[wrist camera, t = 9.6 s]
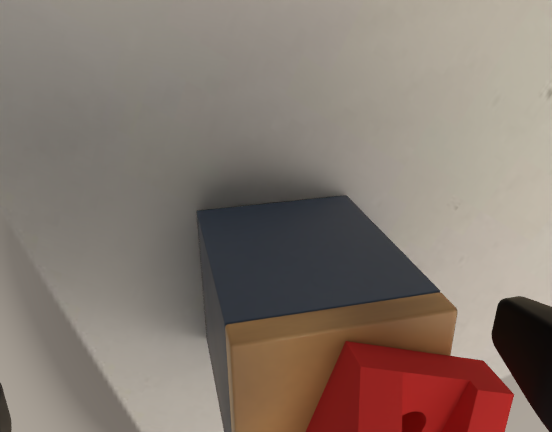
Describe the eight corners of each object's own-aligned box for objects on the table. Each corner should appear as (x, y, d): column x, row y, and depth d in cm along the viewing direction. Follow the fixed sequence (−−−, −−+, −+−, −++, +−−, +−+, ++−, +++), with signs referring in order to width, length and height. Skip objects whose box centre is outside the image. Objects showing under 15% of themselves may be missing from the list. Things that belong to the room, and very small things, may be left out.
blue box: (206, 339, 24) (234, 488, 17) (196, 210, 21) (224, 323, 14) (340, 318, 25) (418, 448, 18) (346, 194, 23) (441, 290, 16)
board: (234, 488, 17) (240, 516, 16) (224, 323, 14) (229, 345, 13) (418, 448, 18) (432, 472, 17) (441, 290, 16) (459, 309, 15)
